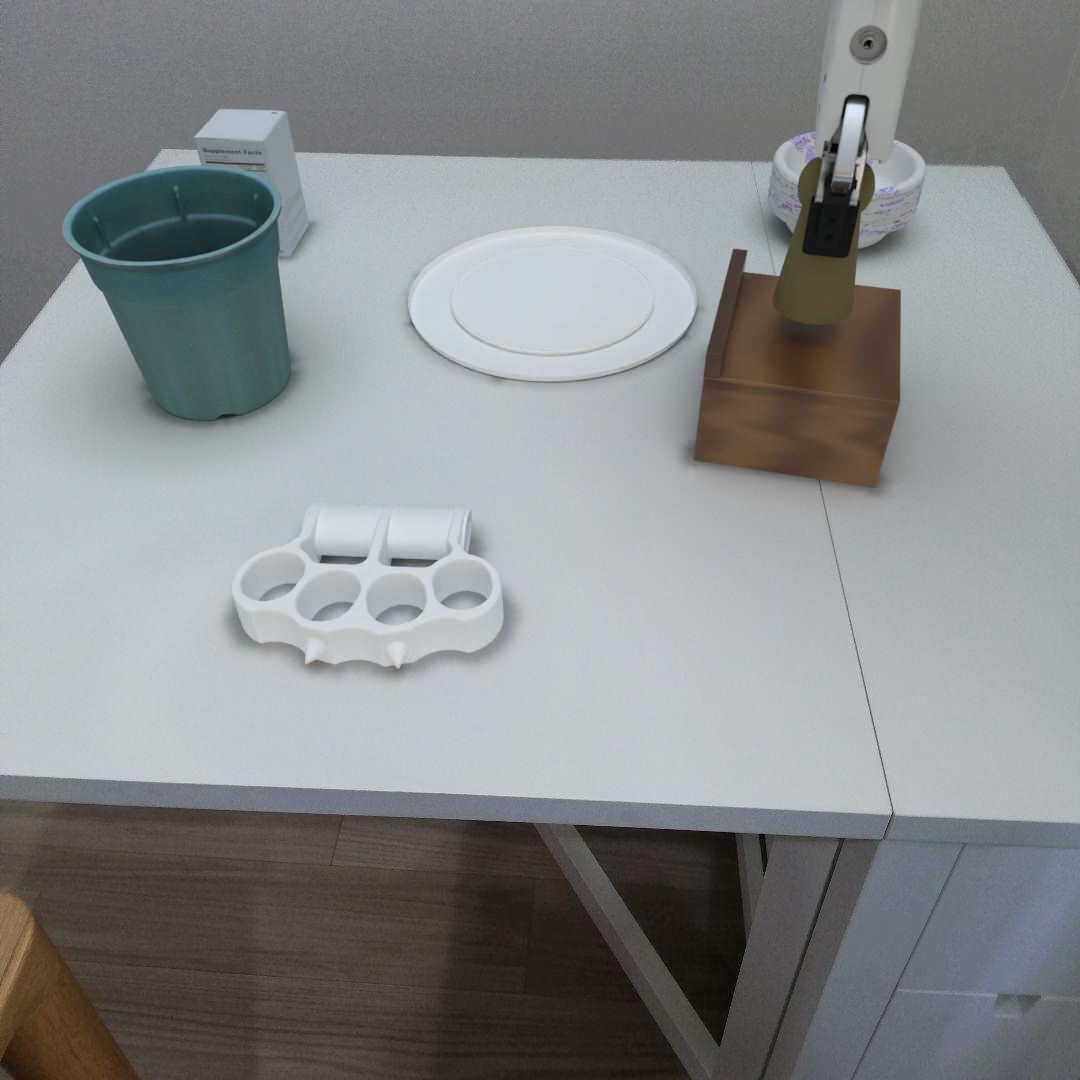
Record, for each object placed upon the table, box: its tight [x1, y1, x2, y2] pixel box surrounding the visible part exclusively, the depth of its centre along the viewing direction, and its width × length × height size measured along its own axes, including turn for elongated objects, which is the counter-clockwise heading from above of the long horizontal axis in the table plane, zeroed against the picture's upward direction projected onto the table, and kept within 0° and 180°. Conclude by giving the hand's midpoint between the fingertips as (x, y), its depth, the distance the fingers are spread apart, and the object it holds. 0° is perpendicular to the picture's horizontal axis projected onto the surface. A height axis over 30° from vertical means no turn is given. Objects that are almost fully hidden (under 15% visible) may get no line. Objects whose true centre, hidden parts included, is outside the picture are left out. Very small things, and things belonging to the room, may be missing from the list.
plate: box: [407, 225, 698, 383], centre depth 95 cm, size 28×28×1 cm
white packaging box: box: [193, 108, 310, 258], centre depth 101 cm, size 7×7×13 cm
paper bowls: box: [767, 131, 927, 250], centre depth 102 cm, size 15×15×8 cm
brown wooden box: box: [693, 248, 902, 489], centre depth 78 cm, size 14×16×10 cm
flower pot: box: [61, 164, 292, 421], centre depth 81 cm, size 16×16×16 cm
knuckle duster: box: [230, 500, 505, 670], centre depth 67 cm, size 3×18×15 cm
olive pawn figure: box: [772, 157, 875, 325], centre depth 71 cm, size 6×6×11 cm
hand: (827, 232), depth 70 cm, fingers closed on olive pawn figure, 5 cm apart
